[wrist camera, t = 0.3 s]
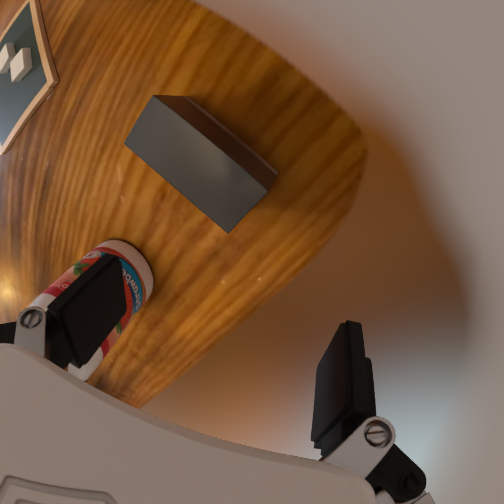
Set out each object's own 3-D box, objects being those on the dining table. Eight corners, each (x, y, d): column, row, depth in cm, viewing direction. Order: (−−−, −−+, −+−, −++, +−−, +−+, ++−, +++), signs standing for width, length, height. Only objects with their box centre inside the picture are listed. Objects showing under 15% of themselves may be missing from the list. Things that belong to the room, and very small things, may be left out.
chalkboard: (-15, 68, 21) (-19, 69, 20) (37, -8, 15) (33, -9, 14) (5, 155, 29) (1, 156, 28) (59, 82, 22) (54, 82, 21)
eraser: (160, 134, 24) (123, 143, 19) (186, 96, 22) (152, 94, 17) (245, 207, 26) (227, 234, 21) (279, 172, 24) (269, 191, 19)
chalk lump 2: (18, 62, 20) (9, 62, 19) (30, 47, 19) (22, 47, 18) (20, 81, 22) (11, 82, 20) (32, 67, 20) (23, 67, 19)
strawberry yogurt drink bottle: (88, 260, 34) (-46, 403, 10) (117, 222, 30) (-65, 396, 6) (132, 309, 36) (22, 469, 12) (169, 281, 32) (32, 490, 8)
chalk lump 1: (3, 59, 20) (-5, 60, 18) (13, 42, 18) (5, 43, 17) (6, 73, 21) (-2, 74, 20) (16, 56, 20) (8, 56, 18)
